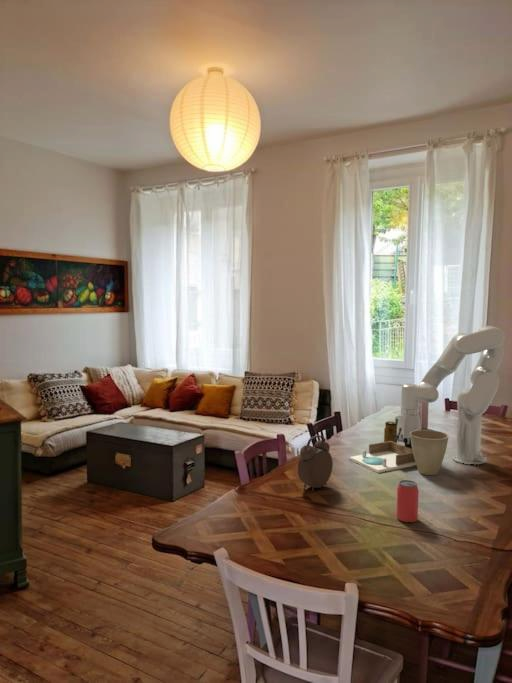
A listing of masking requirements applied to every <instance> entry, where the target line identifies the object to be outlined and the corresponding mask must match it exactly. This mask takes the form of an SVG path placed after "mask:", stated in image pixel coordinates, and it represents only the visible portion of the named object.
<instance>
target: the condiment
mask: <svg viewBox="0 0 512 683" xmlns="http://www.w3.org/2000/svg"><path fill="white" fill-rule="evenodd" d="M384 425H385V427H384V430H383V431H384V432H383V433H384V434H383V442H387V441H392V442H395V443H398V440H397V423H396V422H395V421H390V420H388V421H386V422H385V424H384Z"/></svg>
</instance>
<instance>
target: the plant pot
mask: <svg viewBox="0 0 512 683" xmlns="http://www.w3.org/2000/svg"><path fill="white" fill-rule="evenodd" d="M410 438H411V445H412V450H413V455H414V459H415V462H416V465H415V466H416V468H417V470H418V473H419V474H422V475H425V476H435V475H438V473H439V471H440V469H441V466H442V463H443V461H444V459H445V455H446V451H447V447H448V443H449V442H448V441H449V434H447V433H445V432H443V431H438V430H430V429H421V430H415V431H412V432H410Z"/></svg>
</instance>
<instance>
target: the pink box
mask: <svg viewBox="0 0 512 683" xmlns="http://www.w3.org/2000/svg"><path fill="white" fill-rule="evenodd" d="M429 405H430V403H427V402H421V401H419V413H418V415H419V418H420V430H422V429H424V430H429V429H428V428H429Z"/></svg>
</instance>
